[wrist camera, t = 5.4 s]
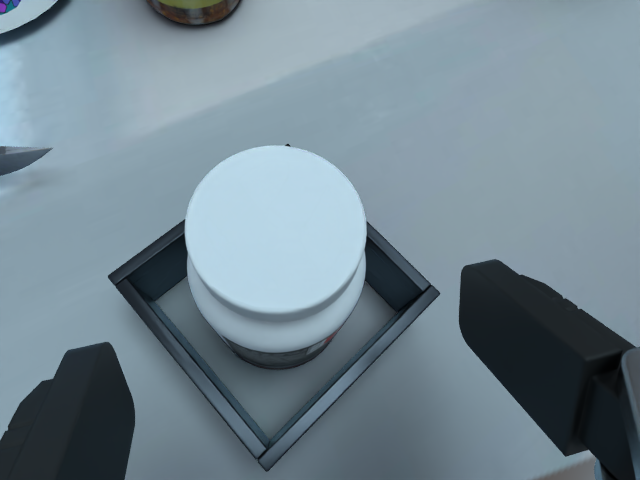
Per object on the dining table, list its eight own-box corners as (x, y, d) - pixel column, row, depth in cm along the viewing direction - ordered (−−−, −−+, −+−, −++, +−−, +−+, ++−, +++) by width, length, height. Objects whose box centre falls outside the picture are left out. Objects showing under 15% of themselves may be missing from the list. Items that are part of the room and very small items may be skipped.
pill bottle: (362, 297, 21) (431, 211, 11) (288, 398, 19) (298, 391, 10) (269, 227, 22) (263, 94, 12) (189, 316, 20) (111, 238, 10)
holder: (411, 313, 21) (441, 293, 17) (268, 458, 18) (266, 472, 14) (286, 186, 22) (288, 142, 19) (138, 300, 20) (106, 275, 16)
